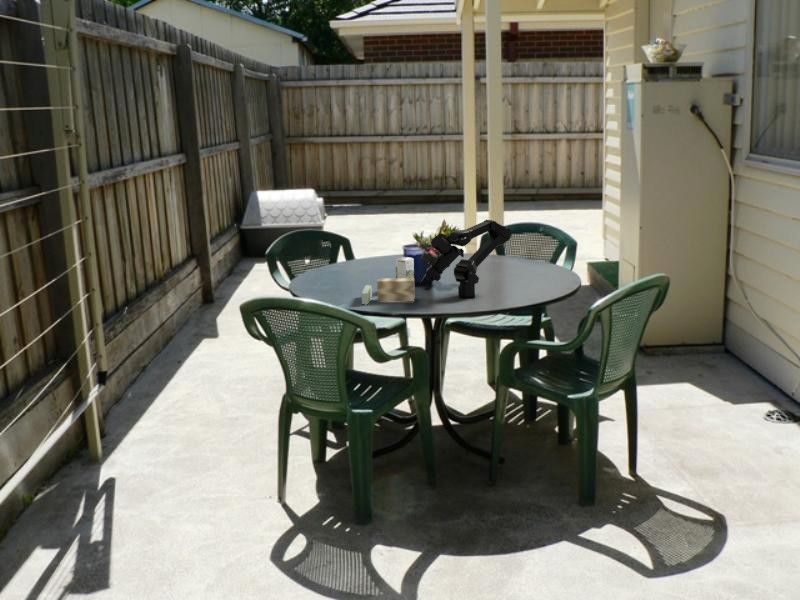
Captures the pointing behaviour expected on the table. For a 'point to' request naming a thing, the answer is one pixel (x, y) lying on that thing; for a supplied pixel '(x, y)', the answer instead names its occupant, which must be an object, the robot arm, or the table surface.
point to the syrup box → (405, 267)
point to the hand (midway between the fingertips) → (420, 284)
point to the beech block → (396, 289)
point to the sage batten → (366, 294)
